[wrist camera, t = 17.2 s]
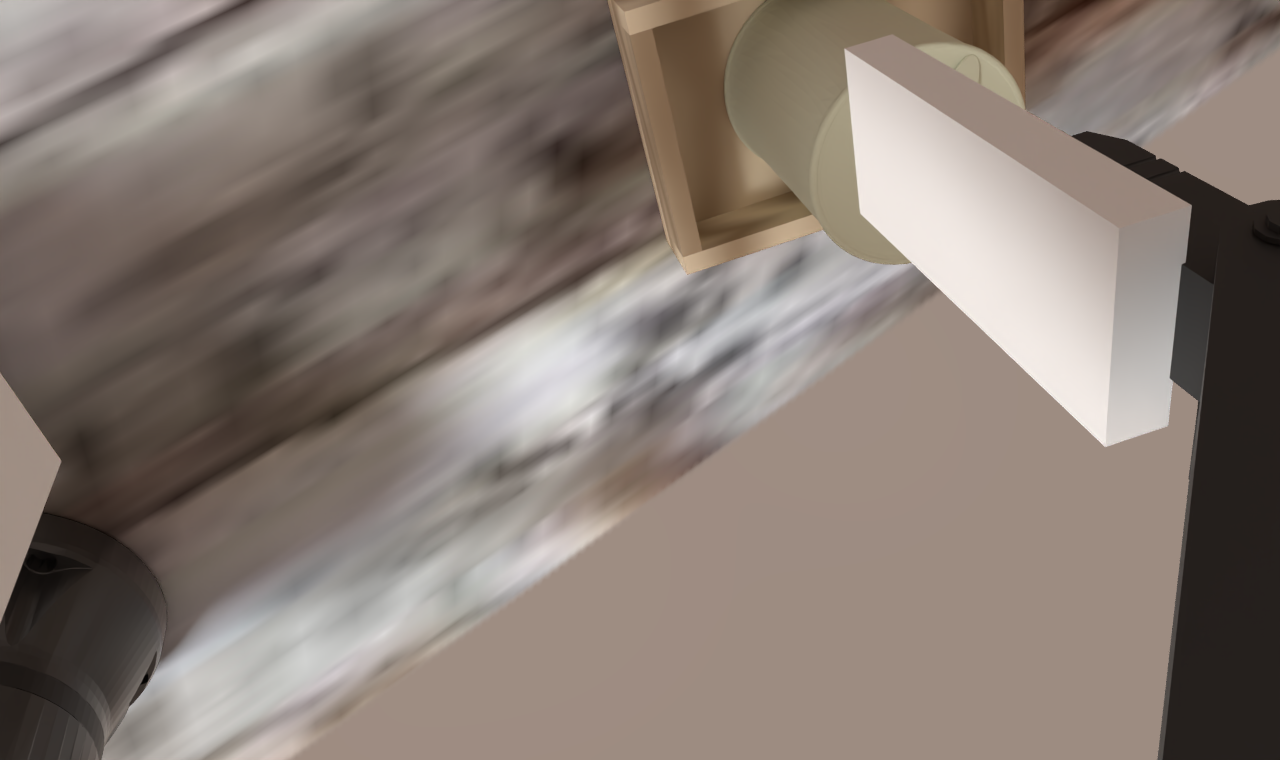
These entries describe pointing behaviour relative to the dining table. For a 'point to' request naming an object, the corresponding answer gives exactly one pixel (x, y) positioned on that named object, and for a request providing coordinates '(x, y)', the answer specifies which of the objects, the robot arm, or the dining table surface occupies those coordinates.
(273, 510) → the dining table surface
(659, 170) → the wooden tray
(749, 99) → the can
